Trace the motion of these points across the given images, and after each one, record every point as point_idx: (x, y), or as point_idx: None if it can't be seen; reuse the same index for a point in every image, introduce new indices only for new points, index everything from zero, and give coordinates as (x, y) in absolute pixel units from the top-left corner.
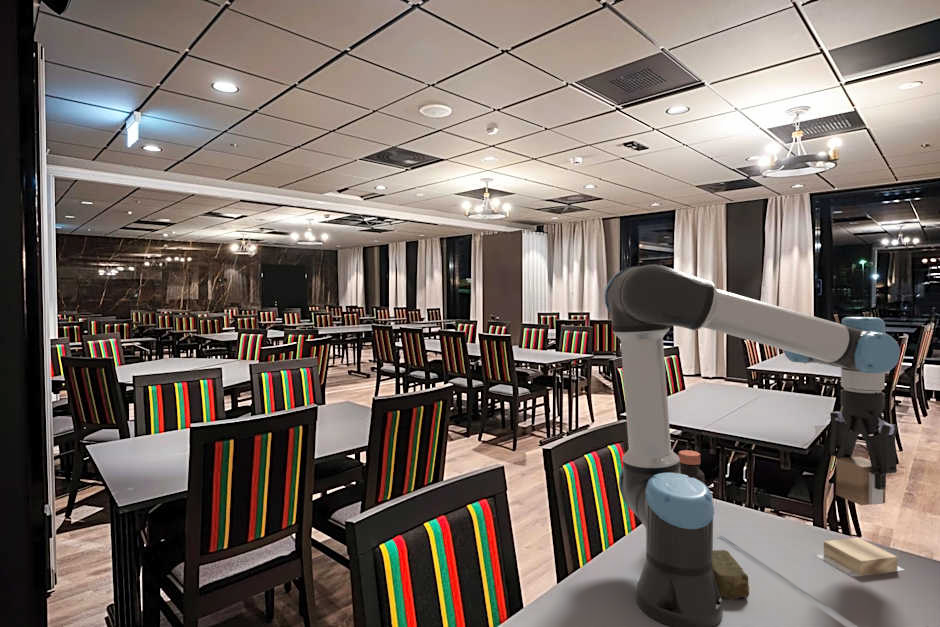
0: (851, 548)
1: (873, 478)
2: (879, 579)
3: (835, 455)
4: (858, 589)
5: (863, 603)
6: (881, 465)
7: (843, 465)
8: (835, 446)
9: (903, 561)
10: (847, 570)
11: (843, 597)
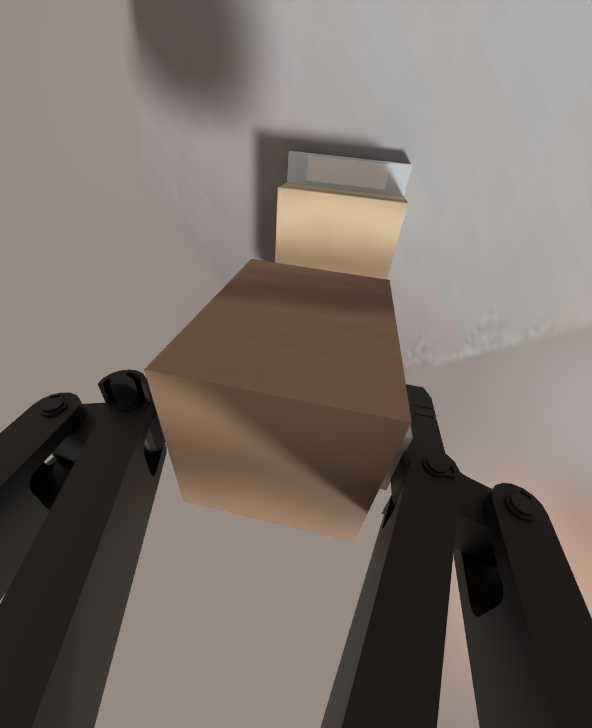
0: (340, 240)
1: None
2: None
3: (485, 497)
4: (258, 124)
5: (199, 54)
6: (47, 436)
7: (332, 375)
8: (513, 588)
9: None
10: (314, 169)
11: (232, 15)
